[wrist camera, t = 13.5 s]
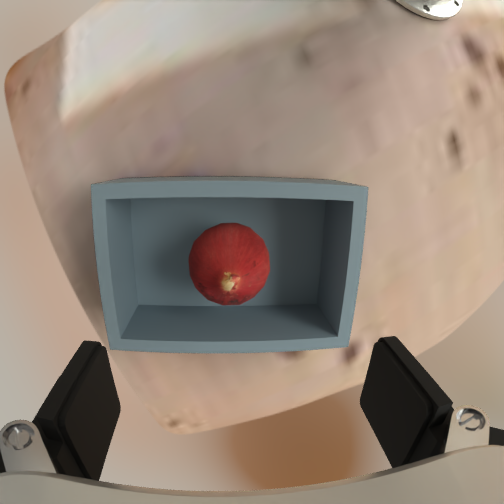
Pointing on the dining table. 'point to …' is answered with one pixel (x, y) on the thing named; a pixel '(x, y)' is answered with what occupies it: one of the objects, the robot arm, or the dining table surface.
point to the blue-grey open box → (211, 214)
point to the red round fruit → (229, 263)
